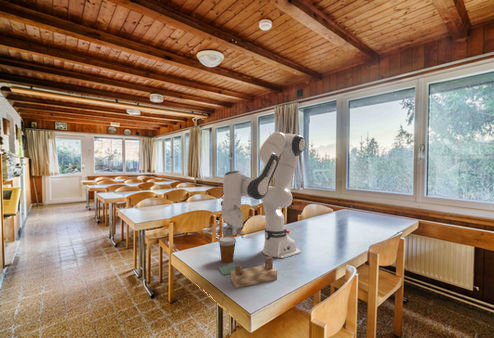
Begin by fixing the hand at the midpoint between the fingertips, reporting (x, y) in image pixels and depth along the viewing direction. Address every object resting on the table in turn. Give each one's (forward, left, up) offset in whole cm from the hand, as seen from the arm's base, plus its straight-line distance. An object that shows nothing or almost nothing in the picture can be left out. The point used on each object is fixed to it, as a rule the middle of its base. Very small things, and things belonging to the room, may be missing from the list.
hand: (231, 232), depth 112 cm
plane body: (-7, +11, -19) cm, 23 cm away
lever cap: (0, 0, -1) cm, 1 cm away
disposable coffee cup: (-2, -13, -20) cm, 23 cm away
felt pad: (+1, -2, -19) cm, 19 cm away
